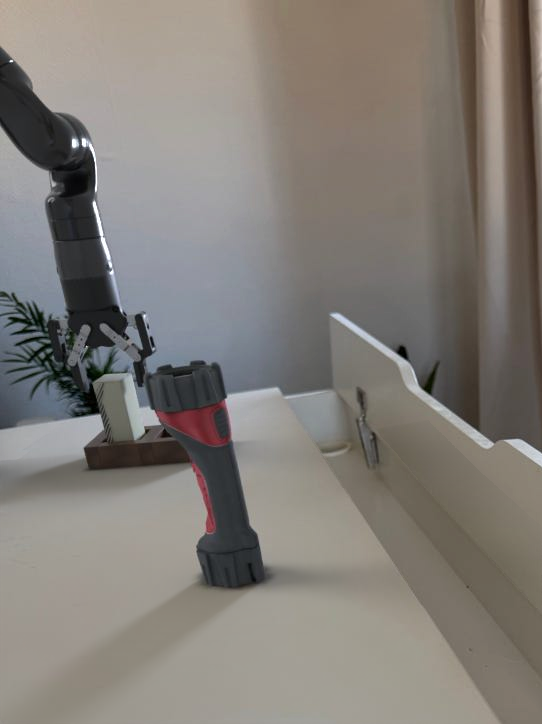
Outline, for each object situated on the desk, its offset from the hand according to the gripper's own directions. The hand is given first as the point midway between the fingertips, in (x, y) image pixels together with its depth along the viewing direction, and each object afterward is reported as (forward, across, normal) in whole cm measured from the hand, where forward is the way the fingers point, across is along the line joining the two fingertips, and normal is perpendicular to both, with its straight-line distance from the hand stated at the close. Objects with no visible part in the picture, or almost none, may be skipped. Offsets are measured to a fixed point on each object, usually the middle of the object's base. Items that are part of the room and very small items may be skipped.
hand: (113, 388), depth 145 cm
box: (+11, 0, 0) cm, 11 cm away
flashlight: (+11, -24, +50) cm, 56 cm away
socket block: (+11, -4, 0) cm, 12 cm away
